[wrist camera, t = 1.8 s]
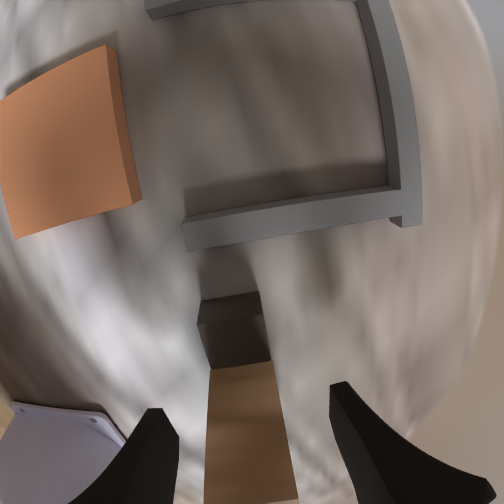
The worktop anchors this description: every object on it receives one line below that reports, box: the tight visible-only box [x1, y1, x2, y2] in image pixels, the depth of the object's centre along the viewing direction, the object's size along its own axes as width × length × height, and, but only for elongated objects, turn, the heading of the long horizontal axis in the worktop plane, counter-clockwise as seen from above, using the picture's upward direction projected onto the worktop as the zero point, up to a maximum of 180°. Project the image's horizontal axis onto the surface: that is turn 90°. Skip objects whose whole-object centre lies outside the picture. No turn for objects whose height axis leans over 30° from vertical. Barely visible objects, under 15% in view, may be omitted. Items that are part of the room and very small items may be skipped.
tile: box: [0, 44, 142, 239], centre depth 9 cm, size 6×6×2 cm
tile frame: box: [145, 0, 422, 252], centre depth 9 cm, size 9×11×1 cm
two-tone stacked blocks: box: [197, 291, 299, 504], centre depth 10 cm, size 2×7×8 cm, turn 9°
